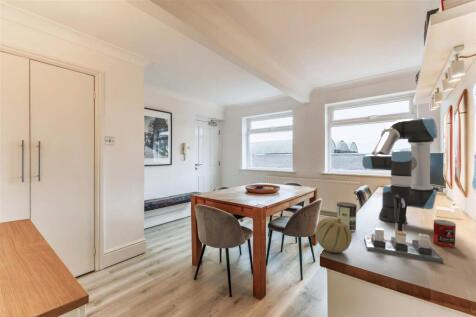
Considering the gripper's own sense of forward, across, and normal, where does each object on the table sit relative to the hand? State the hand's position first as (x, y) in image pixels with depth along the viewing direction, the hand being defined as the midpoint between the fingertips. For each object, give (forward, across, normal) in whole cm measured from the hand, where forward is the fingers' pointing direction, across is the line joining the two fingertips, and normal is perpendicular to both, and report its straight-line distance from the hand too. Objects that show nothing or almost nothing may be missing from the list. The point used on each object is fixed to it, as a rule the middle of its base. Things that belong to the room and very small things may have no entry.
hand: (399, 237), depth 98 cm
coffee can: (+6, -21, -21) cm, 30 cm away
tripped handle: (+1, +3, 0) cm, 3 cm away
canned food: (+6, -17, +21) cm, 28 cm away
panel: (+6, 0, 0) cm, 6 cm away
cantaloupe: (+6, +15, -27) cm, 31 cm away
